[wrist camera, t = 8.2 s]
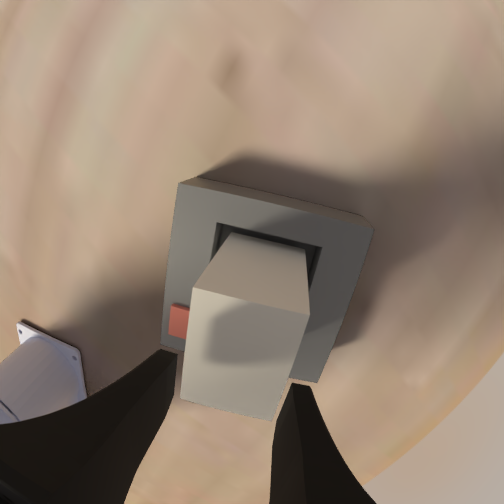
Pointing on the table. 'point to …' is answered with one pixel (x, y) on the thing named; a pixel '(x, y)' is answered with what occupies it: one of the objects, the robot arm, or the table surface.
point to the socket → (272, 229)
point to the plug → (245, 326)
